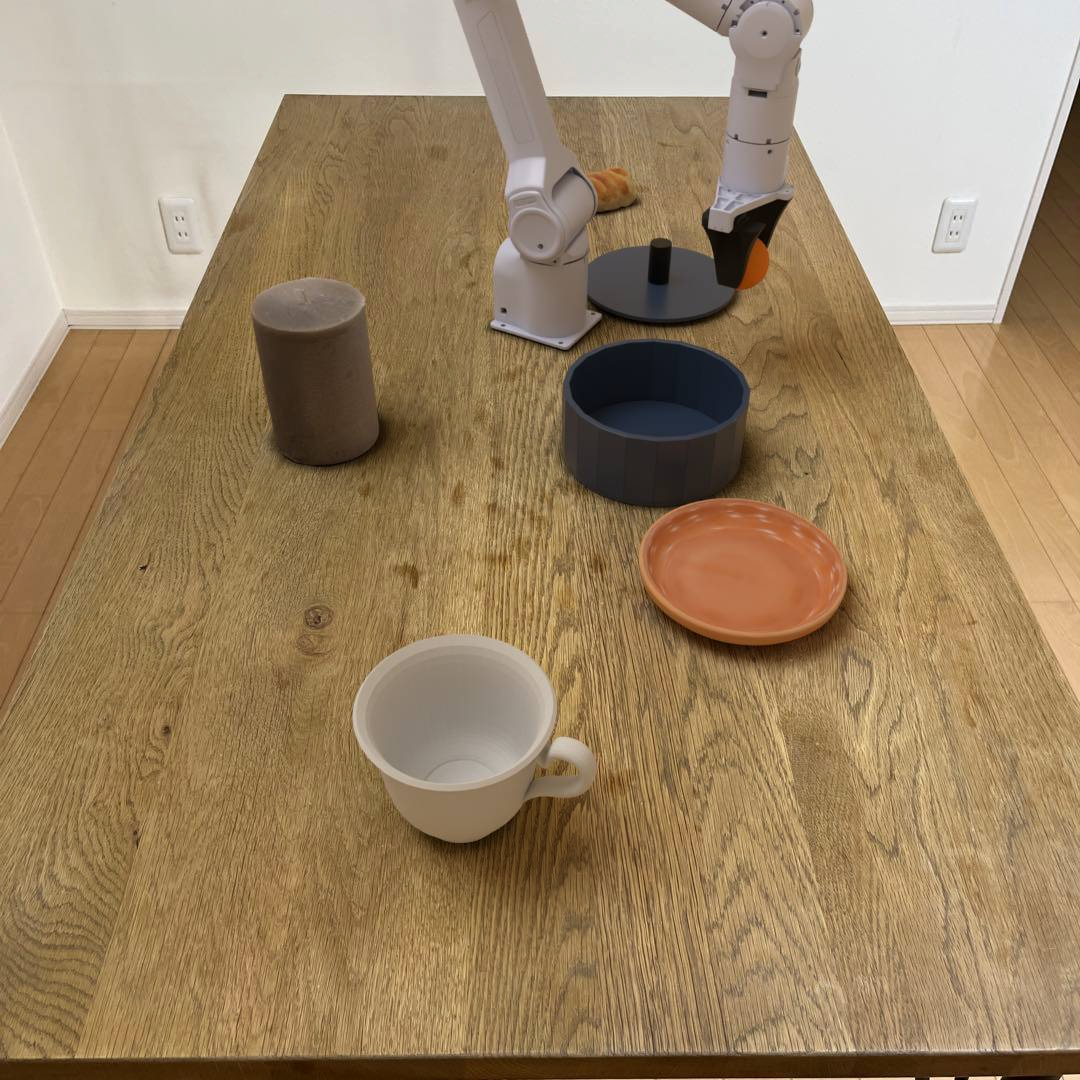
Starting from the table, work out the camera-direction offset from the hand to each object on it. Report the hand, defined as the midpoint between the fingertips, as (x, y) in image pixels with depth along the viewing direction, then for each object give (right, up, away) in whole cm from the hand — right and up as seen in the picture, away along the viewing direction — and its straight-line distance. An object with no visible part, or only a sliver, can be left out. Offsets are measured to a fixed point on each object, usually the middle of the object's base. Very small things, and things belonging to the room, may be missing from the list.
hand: (739, 273), depth 107 cm
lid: (-6, +3, +18) cm, 19 cm away
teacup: (-23, -43, -35) cm, 60 cm away
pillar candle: (-39, -16, -3) cm, 42 cm away
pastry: (-11, +17, +35) cm, 41 cm away
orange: (0, +1, -1) cm, 1 cm away
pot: (-9, -17, -5) cm, 20 cm away
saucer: (-4, -30, -19) cm, 35 cm away
